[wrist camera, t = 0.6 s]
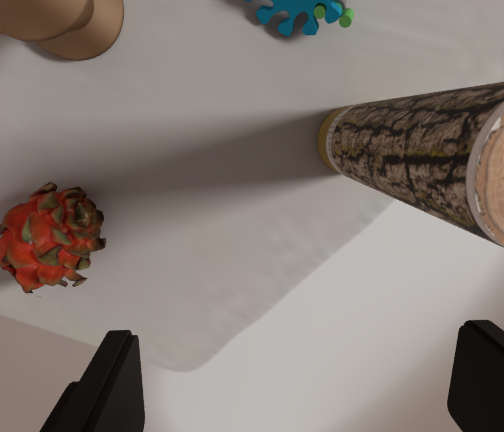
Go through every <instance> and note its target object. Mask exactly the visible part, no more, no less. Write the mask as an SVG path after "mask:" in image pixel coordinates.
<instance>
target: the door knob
mask: <svg viewBox="0 0 504 432" xmlns="http://www.w3.org/2000/svg"><path fill="white" fill-rule="evenodd" d="M123 19H124V5H123V0H0V33H2V34H5V35H7V36H10V37H12V38H15V39H19V40H23V41H29V42H36V43H37V44H39V45H40V46H41V47H43V48H44V49H45V50H47V51H49V52H51V53H53V54H55V55H58V56H60V57H63V58H66V59H71V60H88V59H92V58H95V57H97V56H100V55H101V54H103V53H104V52H106V51H107V50H108V49H109V48H110V47H111V46H112V45H113V44H114V43H115V41H116V40H117V38H118V36H119V34H120V32H121V28H122V25H123Z"/></svg>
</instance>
